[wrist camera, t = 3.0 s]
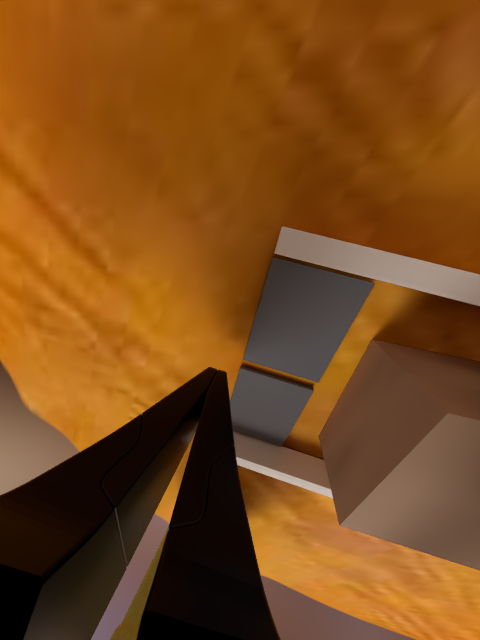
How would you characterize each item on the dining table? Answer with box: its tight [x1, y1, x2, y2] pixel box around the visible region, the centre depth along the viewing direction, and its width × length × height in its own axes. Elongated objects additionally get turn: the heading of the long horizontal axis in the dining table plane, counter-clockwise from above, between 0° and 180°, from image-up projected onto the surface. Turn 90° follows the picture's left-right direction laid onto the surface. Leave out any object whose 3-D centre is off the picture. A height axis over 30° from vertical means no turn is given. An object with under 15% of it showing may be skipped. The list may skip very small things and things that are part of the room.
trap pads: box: [230, 257, 375, 447], centre depth 9 cm, size 4×11×1 cm, turn 167°
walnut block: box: [319, 339, 480, 570], centre depth 7 cm, size 7×7×4 cm
